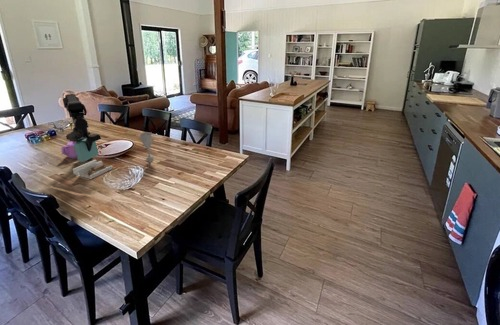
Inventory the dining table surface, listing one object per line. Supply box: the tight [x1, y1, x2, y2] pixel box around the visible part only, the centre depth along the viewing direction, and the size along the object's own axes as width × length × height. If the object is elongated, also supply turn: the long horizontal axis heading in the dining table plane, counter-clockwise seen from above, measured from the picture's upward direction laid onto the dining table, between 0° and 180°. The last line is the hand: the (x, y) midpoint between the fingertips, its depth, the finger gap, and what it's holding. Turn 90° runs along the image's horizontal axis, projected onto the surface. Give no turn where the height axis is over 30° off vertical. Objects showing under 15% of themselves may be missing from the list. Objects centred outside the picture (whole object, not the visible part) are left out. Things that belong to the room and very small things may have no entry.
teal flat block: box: [74, 139, 99, 163], centre depth 157 cm, size 3×12×11 cm, turn 165°
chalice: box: [139, 131, 155, 163], centre depth 174 cm, size 7×7×18 cm
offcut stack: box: [88, 164, 108, 176], centre depth 158 cm, size 5×10×4 cm, turn 157°
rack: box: [72, 159, 114, 180], centre depth 159 cm, size 14×15×4 cm
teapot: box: [60, 141, 78, 160], centre depth 184 cm, size 13×20×11 cm
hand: (87, 150), depth 158 cm, fingers closed on teal flat block, 3 cm apart
